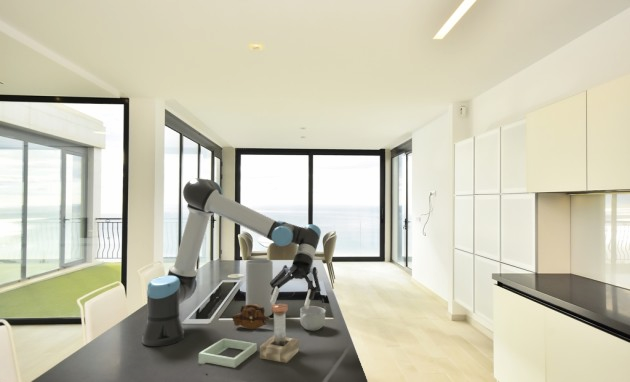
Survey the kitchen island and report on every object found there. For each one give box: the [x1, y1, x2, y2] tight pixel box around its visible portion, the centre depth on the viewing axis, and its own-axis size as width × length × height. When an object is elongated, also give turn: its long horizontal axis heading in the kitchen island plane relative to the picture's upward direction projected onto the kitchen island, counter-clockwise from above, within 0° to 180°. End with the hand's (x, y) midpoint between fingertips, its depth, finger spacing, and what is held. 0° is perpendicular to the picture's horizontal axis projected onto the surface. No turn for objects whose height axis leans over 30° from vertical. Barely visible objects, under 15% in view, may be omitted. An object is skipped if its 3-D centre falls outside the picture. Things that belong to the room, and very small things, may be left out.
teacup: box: [299, 305, 327, 332], centre depth 154 cm, size 14×11×8 cm
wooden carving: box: [231, 304, 271, 330], centre depth 155 cm, size 16×5×10 cm, turn 82°
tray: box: [198, 337, 258, 369], centre depth 126 cm, size 14×14×4 cm
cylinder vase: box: [245, 258, 274, 317], centre depth 174 cm, size 12×12×25 cm
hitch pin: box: [271, 303, 289, 346], centre depth 127 cm, size 6×6×17 cm
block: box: [259, 335, 300, 364], centre depth 127 cm, size 10×10×5 cm
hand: (288, 305), depth 134 cm, fingers open, 13 cm apart
